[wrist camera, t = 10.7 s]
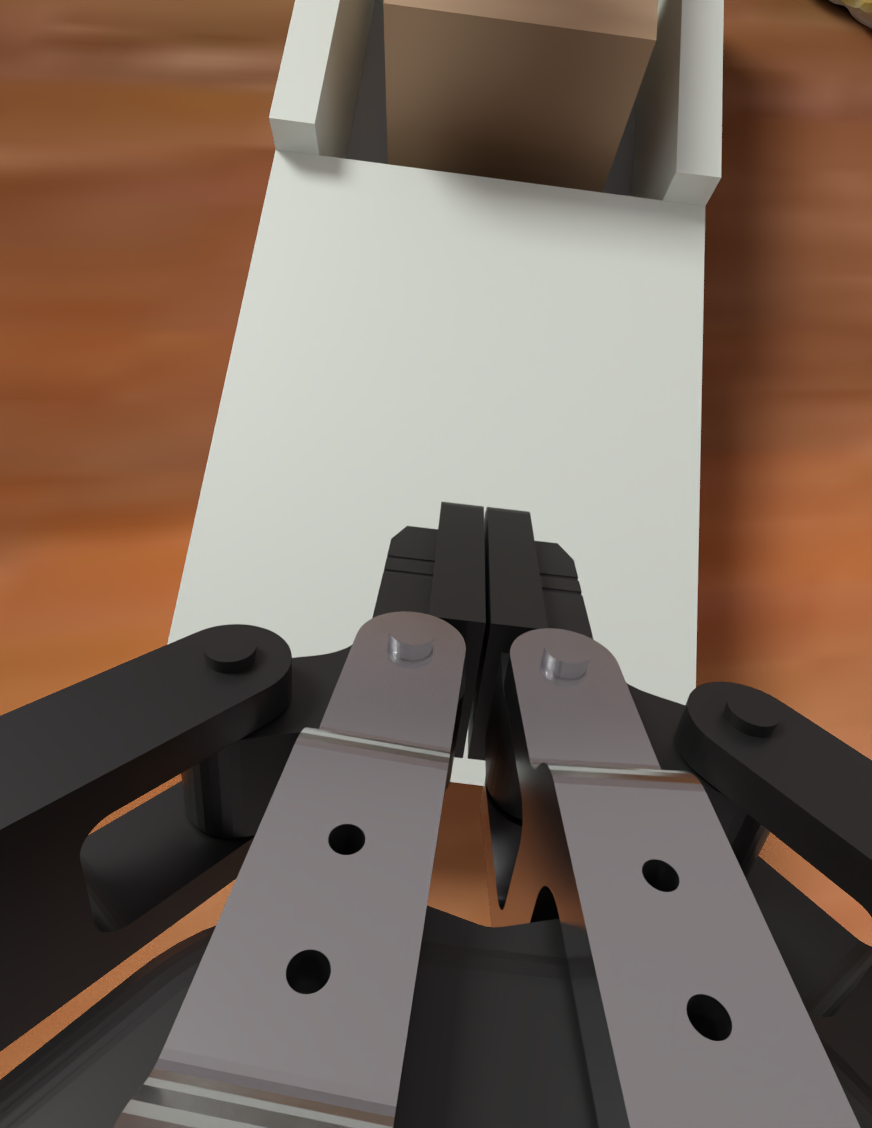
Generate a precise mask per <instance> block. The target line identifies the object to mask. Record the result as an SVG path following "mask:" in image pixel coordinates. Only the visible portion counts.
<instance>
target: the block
mask: <svg viewBox="0 0 872 1128" xmlns="http://www.w3.org/2000/svg"><path fill="white" fill-rule="evenodd" d="M383 9H384V43H385V78H386V113H387V148H388V164H389V165H397V166H404V167H412V168H420V169H427V170H435V171H442V172H450V173H457V174H465V175H473V176H480V177H488V178H495V179H503V180H510V181H518V182H526V183H533V184H541V185H548V186H556V187H564V188H571V189H579V190H586V191H594V192H601V193H602V191H603V189H604V186H605V183H606V180H607V177H608V175H609V172H610V169H611V166H612V163H613V161H614V158H615V155H616V152H617V149H618V146H619V144H620V141H621V138H622V135H623V132H624V130H625V127H626V124H627V121H628V118H629V116H630V113H631V110H632V107H633V104H634V102H635V99H636V96H637V93H638V90H639V88H640V85H641V82H642V79H643V76H644V74H645V71H646V68H647V65H648V62H649V59H650V57H651V54H652V51H653V48H654V45H655V43H656V37H657V16H658V0H384V2H383Z"/></svg>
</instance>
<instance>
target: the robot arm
mask: <svg viewBox="0 0 872 1128" xmlns="http://www.w3.org/2000/svg"><path fill="white" fill-rule="evenodd" d="M581 593H582V591H581V587H580V583H579V581H578V575H577V571H576V567H575V563H574V560H573V559H572V558H571V557H570V556H569V555H568V553H567V552H566V551H565V550H564V549H563V548H562V547H561V546H560V545H559V544H558V543H551V542H542V541H534V534H533V528H532V521H531V515H530V512H528V511H519V510H511V509H503V508H494V507H487V508H486V512H485V516H484V506H476V505H468V504H459V503H451V502H442V501H441V509H440V518H439V526H438V529H430V528H422V527H413V526H406V527H405V528H404V529H403V530H401V531H400V532H399V533H398V534H396V535H395V536H394V537H393V538H391V542H390V546H389V550H388V554H387V559H386V563H385V567H384V572H383V575H382V580H381V584H380V588H379V592H378V596H377V601H376V605H375V609H374V613H373V617H372V619H370V620H369V621H367V622H366V623H364V624H363V625H362V627H361V628H360V629H359V631H358V632H357V634H356V637H355V639H354V642H353V644H352V645H351V646H349V647H347V648H345V649H342V650H339V651H337V652H333V653H329V654H323V655H315V656H305V657H295V658H292V654H291V650H290V647H289V645H288V644H287V643H286V641H285V640H284V639H283V638H281V637H280V636H279V635H277V634H276V633H274V632H272V631H270V630H267V629H265V628H261V627H258V626H253V625H245V624H229V625H220V626H215V627H211V628H207V629H204V630H201V631H198V632H196V633H193V634H191V635H189V636H186V637H184V638H182V639H179V640H177V641H175V642H172V643H170V644H168V645H165V646H163V647H161V648H158V649H156V650H154V651H151V652H149V653H147V654H144V655H142V656H140V657H137V658H135V659H133V660H130V661H128V662H126V663H123V664H121V665H119V666H116V667H114V668H112V669H109V670H107V671H105V672H102V673H100V674H97V675H95V676H93V677H90V678H88V679H86V680H83V681H81V682H79V683H76V684H74V685H72V686H69V687H67V688H65V689H62V690H60V691H58V692H55V693H53V694H51V695H48V696H46V697H44V698H41V699H39V700H37V701H34V702H32V703H30V704H27V705H25V706H23V707H20V708H18V709H16V710H13V711H11V712H8V713H6V714H4V715H1V716H0V1051H2V1050H3V1049H4V1048H6V1047H7V1046H8V1045H10V1044H11V1043H13V1042H14V1041H15V1040H17V1039H18V1038H19V1037H21V1036H22V1035H23V1034H25V1033H26V1032H28V1031H29V1030H30V1029H32V1028H33V1027H34V1026H36V1025H37V1024H38V1023H40V1022H41V1021H43V1020H44V1019H45V1018H47V1017H48V1016H49V1015H51V1014H52V1013H53V1012H55V1011H56V1010H57V1009H59V1008H60V1007H62V1006H63V1005H64V1004H66V1003H67V1002H68V1001H70V1000H71V999H72V998H74V997H75V996H77V995H78V994H79V993H81V992H82V991H83V990H85V989H86V988H87V987H89V986H90V985H92V984H93V983H94V982H96V981H97V980H98V979H100V978H101V977H102V976H104V975H105V974H107V973H108V972H109V971H111V970H112V969H113V968H115V967H116V966H117V965H119V964H120V963H122V962H123V961H124V960H126V959H127V958H128V957H130V956H131V955H132V954H134V953H135V952H137V951H138V950H139V949H141V948H142V947H143V946H145V945H146V944H147V943H149V942H150V941H151V940H153V939H154V938H156V937H157V936H158V935H160V934H161V933H162V932H164V931H165V930H166V929H168V928H169V927H171V926H172V925H173V924H175V923H176V922H177V921H179V920H180V919H181V918H183V917H184V916H186V915H187V914H188V913H190V912H191V911H192V910H194V909H195V908H196V907H198V906H199V905H201V904H202V903H203V902H205V901H206V900H207V899H209V898H210V897H211V896H213V895H214V894H216V893H217V892H218V891H220V890H221V889H222V888H224V887H225V886H226V885H228V884H229V883H231V882H232V881H233V880H235V879H236V878H237V879H236V881H235V883H234V886H233V888H232V890H231V893H230V895H229V897H228V900H227V902H226V904H225V906H224V909H223V911H222V913H221V916H220V918H219V920H218V923H217V925H216V926H214V927H211V928H209V929H206V930H203V931H201V932H199V933H197V934H195V935H193V936H191V937H189V938H187V939H185V940H183V941H181V942H179V943H177V944H176V945H174V946H173V947H171V948H170V949H168V950H166V951H165V952H163V953H162V954H160V955H159V956H157V957H155V958H154V959H152V960H151V961H150V962H148V963H147V964H146V965H144V966H143V967H142V968H140V969H139V970H138V971H136V972H135V973H134V974H132V975H131V976H130V977H129V978H127V979H126V980H125V981H124V982H122V983H121V984H120V985H119V986H117V987H116V988H115V989H114V990H112V991H111V992H110V993H109V994H107V995H106V996H105V997H104V998H102V999H101V1000H100V1001H99V1002H97V1003H96V1004H95V1005H94V1006H92V1007H91V1008H90V1009H89V1010H87V1011H86V1012H85V1013H84V1014H82V1015H81V1016H80V1017H79V1018H77V1019H76V1020H75V1021H73V1022H72V1023H71V1024H70V1025H68V1026H67V1027H66V1028H65V1029H63V1030H62V1031H61V1032H60V1033H58V1034H57V1035H56V1036H55V1037H53V1038H52V1039H51V1040H50V1041H48V1042H47V1043H46V1044H45V1045H43V1046H42V1047H41V1048H40V1049H38V1050H37V1051H36V1052H35V1053H33V1054H32V1055H31V1056H30V1057H28V1058H27V1059H26V1060H25V1061H23V1062H22V1063H21V1064H20V1065H18V1066H17V1067H16V1068H15V1069H13V1070H12V1071H11V1072H10V1073H8V1074H7V1075H6V1076H5V1077H3V1078H2V1079H1V1080H0V1128H872V947H871V946H869V945H866V944H865V943H863V942H861V941H860V940H858V939H857V938H856V937H854V936H853V935H852V934H851V933H850V932H848V931H847V930H846V929H845V928H844V927H842V926H841V925H840V924H839V923H838V922H837V921H835V920H834V919H833V918H832V917H831V916H829V915H828V914H827V913H826V912H825V911H823V910H822V909H821V908H820V907H819V906H817V905H816V904H815V903H814V902H813V901H811V900H810V899H809V898H808V897H807V896H805V895H804V894H803V893H802V892H801V891H800V890H798V889H797V888H796V887H795V886H794V885H792V884H791V883H790V882H789V881H788V880H786V879H785V878H784V877H783V876H782V875H780V874H779V873H778V872H777V871H776V870H774V869H773V868H772V867H771V866H770V865H769V864H767V863H766V862H765V861H764V860H763V859H761V858H760V857H759V856H758V855H759V853H760V851H761V849H762V847H763V845H764V843H765V841H766V839H767V837H768V835H769V833H770V832H771V833H773V834H774V835H775V836H776V837H778V838H779V839H780V840H781V841H783V842H784V843H785V844H786V845H788V846H789V847H790V848H791V849H793V850H794V851H795V852H796V853H798V854H799V855H800V856H801V857H803V858H804V859H805V860H806V861H808V862H809V863H810V864H811V865H813V866H814V867H815V868H816V869H818V870H819V871H820V872H821V873H823V874H824V875H825V876H826V877H828V878H829V879H830V880H831V881H833V882H834V883H835V884H836V885H838V886H839V887H840V888H841V889H842V890H844V891H845V892H846V893H847V894H849V895H850V896H851V897H852V898H854V899H855V900H856V901H857V902H858V903H860V904H861V905H862V906H863V907H864V908H865V909H866V910H867V912H868V913H869V914H870V915H871V917H872V760H870V759H869V758H867V757H865V756H864V755H862V754H861V753H859V752H858V751H856V750H855V749H853V748H852V747H850V746H849V745H847V744H845V743H844V742H842V741H841V740H839V739H838V738H836V737H835V736H833V735H832V734H830V733H829V732H827V731H825V730H824V729H822V728H821V727H819V726H818V725H816V724H815V723H813V722H812V721H810V720H809V719H807V718H805V717H804V716H802V715H801V714H799V713H798V712H796V711H795V710H793V709H792V708H790V707H789V706H787V705H785V704H784V703H782V702H781V701H779V700H777V699H776V698H774V697H772V696H770V695H768V694H766V693H764V692H762V691H760V690H757V689H754V688H752V687H748V686H745V685H741V684H736V683H730V682H711V683H706V684H703V685H700V686H698V687H697V688H695V689H694V690H693V691H692V692H691V693H690V695H689V697H688V700H687V703H686V705H683V704H680V703H677V702H674V701H671V700H668V699H664V698H661V697H658V696H655V695H652V694H650V693H647V692H644V691H642V690H639V689H637V688H635V687H633V686H631V685H629V684H628V683H626V681H625V679H624V676H623V674H622V671H621V669H620V666H619V664H618V662H617V660H616V658H615V657H614V656H613V655H612V653H611V652H610V651H609V650H608V649H607V648H605V647H604V646H603V645H601V644H600V643H598V642H597V641H595V640H594V639H593V635H592V631H591V627H590V623H589V619H588V615H587V611H586V607H585V603H584V599H583V596H582V595H581ZM467 731H468V759H475V760H484V761H485V766H486V777H485V782H484V787H483V792H482V797H481V802H480V812H481V823H482V833H483V843H484V854H485V864H486V875H487V885H488V895H489V906H490V916H491V927H485V926H482V925H478V924H476V923H473V922H470V921H467V920H465V919H462V918H459V917H457V916H454V915H451V914H448V913H446V912H443V911H440V910H438V909H435V908H432V907H429V906H427V902H428V895H429V889H430V882H431V876H432V869H433V862H434V856H435V849H436V843H437V836H438V830H439V823H440V817H441V810H442V803H443V797H444V792H445V790H446V789H447V788H448V785H449V783H450V779H451V773H452V767H453V761H454V757H456V758H463V755H464V749H465V743H466V737H467ZM180 773H181V775H182V781H181V782H179V783H177V784H176V785H174V786H172V787H171V788H169V789H167V790H165V791H164V792H162V793H160V794H159V795H157V796H155V797H153V798H152V799H150V800H148V801H147V802H145V803H143V804H141V805H140V806H138V807H136V808H135V809H133V810H131V811H129V812H128V813H126V814H124V815H123V816H121V817H119V818H117V819H116V820H114V821H112V822H111V823H109V824H107V825H105V826H104V827H102V828H100V829H99V830H97V831H95V832H93V833H92V834H90V835H88V834H89V833H90V832H91V831H92V829H93V828H94V827H95V826H96V825H97V824H98V823H99V822H100V821H101V820H103V819H104V818H105V817H106V816H108V815H110V814H111V813H113V812H114V811H116V810H118V809H120V808H121V807H123V806H125V805H127V804H128V803H130V802H132V801H133V800H135V799H137V798H139V797H140V796H142V795H144V794H146V793H147V792H149V791H151V790H153V789H154V788H156V787H158V786H160V785H161V784H163V783H165V782H167V781H168V780H170V779H172V778H174V777H175V776H177V775H179V774H180Z"/></svg>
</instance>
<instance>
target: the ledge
mask: <svg viewBox="0 0 872 1128" xmlns="http://www.w3.org/2000/svg"><path fill="white" fill-rule="evenodd" d="M704 252H705V206H700V205H692V204H685V203H677V202H670V201H662V200H655V199H647V198H639V197H632V196H624V195H617V194H609V193H601V192H594V191H586V190H579V189H571V188H564V187H556V186H548V185H541V184H533V183H526V182H518V181H510V180H503V179H495V178H488V177H480V176H473V175H465V174H457V173H450V172H442V171H435V170H427V169H420V168H412V167H404V166H397V165H389V164H382V163H374V162H366V161H359V160H351V159H344V158H336V157H329V156H321V155H313V154H306V153H298V152H291V151H283V150H276V151H275V156H274V160H273V165H272V169H271V174H270V178H269V183H268V187H267V192H266V197H265V201H264V206H263V210H262V215H261V219H260V224H259V229H258V233H257V238H256V242H255V247H254V251H253V256H252V261H251V265H250V270H249V274H248V279H247V283H246V288H245V292H244V297H243V302H242V306H241V311H240V315H239V320H238V324H237V329H236V334H235V338H234V343H233V347H232V352H231V356H230V361H229V366H228V370H227V375H226V379H225V384H224V388H223V393H222V397H221V402H220V407H219V411H218V416H217V420H216V425H215V429H214V434H213V439H212V443H211V448H210V452H209V457H208V461H207V466H206V470H205V475H204V480H203V484H202V489H201V493H200V498H199V502H198V507H197V512H196V516H195V521H194V525H193V530H192V534H191V539H190V544H189V548H188V553H187V557H186V562H185V566H184V571H183V575H182V580H181V585H180V589H179V594H178V598H177V603H176V607H175V612H174V617H173V621H172V626H171V630H170V635H169V639H168V644H170V643H172V642H175V641H177V640H179V639H182V638H184V637H186V636H189V635H191V634H193V633H196V632H198V631H201V630H204V629H207V628H211V627H215V626H220V625H229V624H245V625H253V626H258V627H261V628H265V629H267V630H270V631H272V632H274V633H276V634H277V635H279V636H280V637H281V638H283V639H284V640H285V641H286V643H287V644H288V645H289V647H290V650H291V654H292V658H295V657H305V656H315V655H323V654H329V653H333V652H337V651H339V650H342V649H345V648H347V647H349V646H351V645H352V644H353V642H354V639H355V637H356V634H357V632H358V631H359V629H360V628H361V627H362V625H363V624H364V623H366V622H367V621H369V620H370V619H372V617H373V613H374V609H375V605H376V601H377V596H378V592H379V588H380V584H381V580H382V575H383V572H384V567H385V563H386V559H387V554H388V550H389V546H390V542H391V538H393V537H394V536H395V535H396V534H398V533H399V532H400V531H401V530H403V529H404V528H405V527H406V526H413V527H422V528H430V529H438V526H439V518H440V509H441V501H442V502H451V503H459V504H468V505H476V506H484V516H485V512H486V508H487V507H494V508H503V509H511V510H519V511H528V512H530V515H531V521H532V528H533V534H534V541H542V542H551V543H558V544H559V545H560V546H561V547H562V548H563V549H564V550H565V551H566V552H567V553H568V555H569V556H570V557H571V558H572V559H573V560H574V563H575V567H576V571H577V575H578V581H579V583H580V587H581V591H582V593H581V595H582V596H583V599H584V603H585V607H586V611H587V615H588V619H589V623H590V627H591V631H592V635H593V639H594V640H595V641H597V642H598V643H600V644H601V645H603V646H604V647H605V648H607V649H608V650H609V651H610V652H611V653H612V655H613V656H614V657H615V658H616V660H617V662H618V664H619V666H620V669H621V671H622V674H623V676H624V679H625V681H626V683H628V684H629V685H631V686H633V687H635V688H637V689H639V690H642V691H644V692H647V693H650V694H652V695H655V696H658V697H661V698H664V699H668V700H671V701H674V702H677V703H680V704H683V705H686V703H687V700H688V697H689V695H690V693H691V692H692V691H693V690H694V689H695V688H696V652H697V602H698V552H699V502H700V452H701V402H702V352H703V302H704ZM168 644H167V645H168ZM485 777H486V766H485V761H484V760H475V759H468V731H467V737H466V743H465V749H464V755H463V758H456V757H454V761H453V767H452V773H451V779H450V782H455V783H463V784H472V785H480V786H484V782H485Z"/></svg>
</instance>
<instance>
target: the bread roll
mask: <svg viewBox="0 0 872 1128" xmlns="http://www.w3.org/2000/svg"><path fill="white" fill-rule="evenodd" d="M829 1H830V2H832V3H834V4H838V5H843V6H845V7H846V8H847V9H848V10H849V12H850V14H851V15H852V16H853V17H854V18H855V19H856V20H857V21H859V22H860V23H862V24H864V25H865V26H867V27H869V28H871V29H872V0H829Z"/></svg>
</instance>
